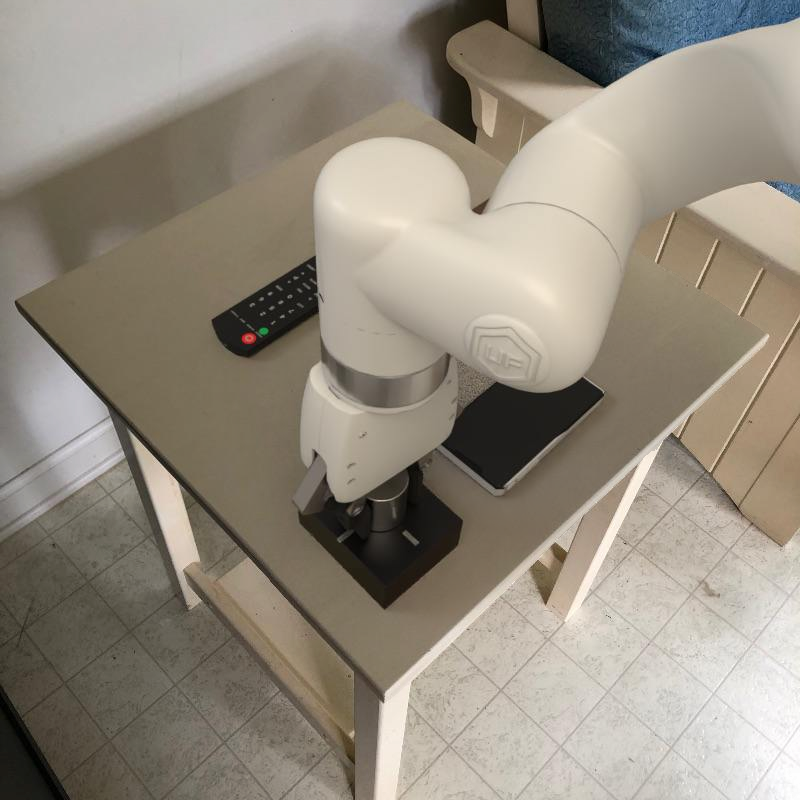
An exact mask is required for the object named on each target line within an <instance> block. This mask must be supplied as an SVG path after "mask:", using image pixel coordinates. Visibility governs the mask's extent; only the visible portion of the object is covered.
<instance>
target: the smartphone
mask: <svg viewBox="0 0 800 800" xmlns="http://www.w3.org/2000/svg"><path fill="white" fill-rule="evenodd" d="M605 394H606V391H605V390H604V389H603V388H601V387H600V386H599V385H597V384H595V383H594V382H592V381H591V380H590V379H588V378H587V377H586V376H585V375H583V376H582V377H581V378H580V379H579V380H578V381H577V382H575V383H574V384H572V385H570V386H568V387H566V388H564V389H562V390H558V391H553V392H547V393H535V392H528V391H523V390H518V389H515V388H512V387H510V386H507V385H504V384H501V383H499V382H497V381H495V382H494V383H493V384H491V385H490V386H489V387H487V388H486V389H485V390H484V391H483V392H482V393H481V394H479V395H478V396H477V397H476V398H474V399H473V400H472V401H470V403H468V404H467V405H466V406H464V407H463V408H464V410H463V412H462V413H461V415H460V416H459V417H458V418H457V419H456V420H455V422H454V425H453V428H452V431H451V433H450V435H449V436H448V438H447V439H446V440H445V441H444V442H442V443H441V444H440V445H439V446H437V447H436V448H435V449H436V450H438V451H439V452H440V453H441V454H442V455H444V456H445V457H446V458H448V459H449V461H451V462H452V463H453V464H455V465H456V466H457V467H458V468H460V469H461V470H462V471H463V472H465V473H466V474H467V475H468V476H470V477H471V478H472V479H473V480H474V481H476V483H478V484H479V485H480V486H482V487H483V488H484V489H485V490H487V492H489V493H490V494H492V495H493V496H494V497H497V496H498V497H499V496H501V497H502V496H503V495H504V494H506V493H507V492H509V490H511V489H512V488H513V487H514V486H515V485H516V484H518V483H519V482H520V481H522V480H523V478H524V477H525V476H526V475H528V473H529V472H531V471H532V470H533V469H534V468H535V467H536V466H537V465H538V464H539V462H540V461H541V460H543V458H544V457H545V456H546V455H547V454H548V453H549V452H551V451H552V450H553V449H554V448H555V447H556V446H557V445H558V444H559V443H560V442H561V441H562V440H563V439H565V438H566V437H567V436H568V435H569V434H570V433H571V432H572V431H573V430H574V429H575V428H577V426H578V425H580V424H581V423H582V422H583V421H584V420H585V419H586V418H587V417H588V416H589V415H590V414H592V412H593V411H595V409H597V407H599V406H600V405H601V404H602V402H603V400H604V397H605Z"/></svg>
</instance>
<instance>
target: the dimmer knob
mask: <svg viewBox="0 0 800 800" xmlns="http://www.w3.org/2000/svg"><path fill="white" fill-rule="evenodd" d="M408 483H409V475H408V471H407V469H406V468H405V469H404V470H402V471H401V472H399V473H398V474H396V475H395V476H393V477H391V478H390V479H388V480H387V481H385V482H384V483H382V484H381V485H379V486H378V487H376V488H375V489H373V490H371V491H370V492H368V495H367V498H366V503H367V505H368V506H369V507H370V509H371V528H370V530H372V531H379V532H381V531H387V530H390V529H393V528H394V527H396V526H397V525H399V524H400V523H401V521H402V520H403V518H404V516H405V513H406V504H407V493H408Z"/></svg>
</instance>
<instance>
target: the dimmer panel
mask: <svg viewBox="0 0 800 800" xmlns="http://www.w3.org/2000/svg"><path fill="white" fill-rule="evenodd" d="M297 513H298V521H299V524H300V525H301V526H302V527H303V528H304V529H305V530H306V531H307V532H308V533H309V535H311V536H312V537H313V539H315V540H316V541H317V542H318V543H319V545H320V546H321V547H322V548H324V550H325V551H326V552H328V554H329V555H330V556H331V557H332V558H333V559H334V560H335V561H336V562H337V563H338V564H339V565H340V566H341V567H342V568H343V569H344V570H345V571H346V573H347V574H349V575H350V576H351V577H352V578H353V580H355V581H356V583H358V584H359V586H360V587H361V588H362V589H363V590H364V591H365V592H366V593H367V594H368V595H369V596H370V597H371V598H372V599H373V600H374V601H375V602H376V603H377V604H378V605H379V607H381V608H382V609H383V610H387V609H388V608H389V607H390V606H391V605H392V604H393V603H394V602H395V601H396V600H397V599H399V598H400V597H401V596H402V595H404V593H406V592H407V591H408V590H409V589H410V588H411V587H412V586H413V585H415V584H416V583H417V582H418V581H419V580H420V579H421V578H423V577H424V576H425V575H426V574H427V573H428V572H430V570H432V569H433V568H434V567H435V566H437V565H438V564H439V563H440V562H441V561H442V560H443V559H444V558H446V556H448V555H449V554H450V553H451V552H452V551H453V550H454V549H456V548H457V547H458V546H459V543H460V538H461V533H462V529H463V524H464V519H462V518H461V517H460V516H459V515H457V513H456V512H455V511H453V510H452V509H451V508H450V507H449V506H448V505H446V504H445V502H444V501H442V500H441V499H440V498H439V497H438V496H437V495H436V494H435V493H434V492H432V491H431V489H429V488H428V487H427V486H426V485H425V484H423V485H422V494H421V500H420V501H419V502H417V503H416V504H414V503H413V504H411V503H410V502H409V501H408V500H407V504H406V513H405V516H404V518H403V520H402V521H401V523H400V524H399V525H397V526H396V527H394V528H393V529H390V530H387V531H381V532H379V531H372V530H370V533H369V536H368V537H366V538H365V539H361V537H360V536H359V535H358V534H357V533H356V532H355V530H354V529H353V528H352V529H351V530H349V531H348V530H346V529H345V528H344V527H343V525H342V524H341V523H340V522H339V520H338V518H337V515H336V512H328V511H327V510H326V509H323V510H322V511H321V512H317V513H313V514H309V515H302V514H301V512H300V511H299V510H298V509H297Z"/></svg>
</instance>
